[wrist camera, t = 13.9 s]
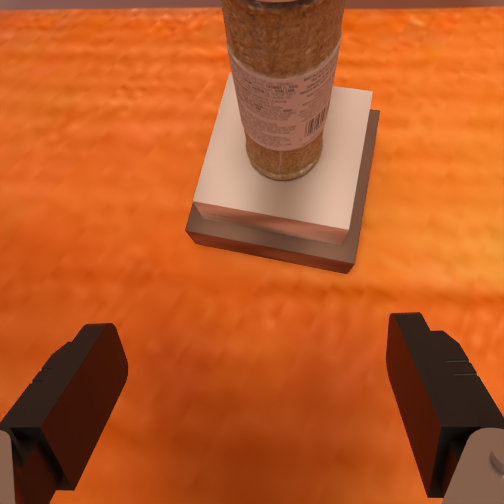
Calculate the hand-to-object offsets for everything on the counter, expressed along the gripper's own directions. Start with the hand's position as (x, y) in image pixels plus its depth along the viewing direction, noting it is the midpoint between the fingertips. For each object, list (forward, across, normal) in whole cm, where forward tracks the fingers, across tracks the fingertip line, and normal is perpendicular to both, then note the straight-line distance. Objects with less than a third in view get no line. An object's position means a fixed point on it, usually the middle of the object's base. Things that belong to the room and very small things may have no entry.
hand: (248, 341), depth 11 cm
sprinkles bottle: (+14, -1, -2) cm, 15 cm away
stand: (+19, -1, +2) cm, 19 cm away
